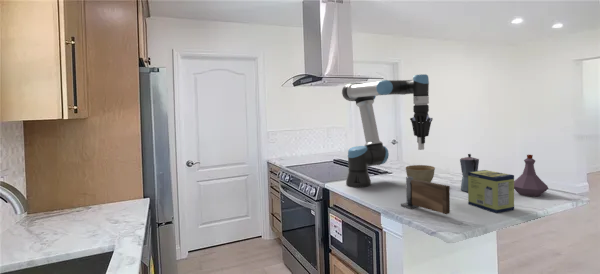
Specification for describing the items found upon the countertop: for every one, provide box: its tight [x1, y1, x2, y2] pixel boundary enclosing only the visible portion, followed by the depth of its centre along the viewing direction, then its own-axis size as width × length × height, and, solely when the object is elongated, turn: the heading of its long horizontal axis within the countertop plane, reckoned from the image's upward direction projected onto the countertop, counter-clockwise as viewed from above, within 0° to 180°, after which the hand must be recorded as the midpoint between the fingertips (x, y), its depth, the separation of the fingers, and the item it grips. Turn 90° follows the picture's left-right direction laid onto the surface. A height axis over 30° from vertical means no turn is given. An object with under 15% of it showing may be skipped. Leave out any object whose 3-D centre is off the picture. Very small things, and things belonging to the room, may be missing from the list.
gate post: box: [400, 176, 420, 210], centre depth 154 cm, size 6×6×14 cm
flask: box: [514, 154, 549, 198], centre depth 166 cm, size 16×16×20 cm
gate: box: [411, 179, 451, 215], centre depth 145 cm, size 3×18×12 cm, turn 30°
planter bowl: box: [405, 164, 436, 183], centre depth 194 cm, size 16×16×11 cm
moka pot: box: [459, 153, 480, 193], centre depth 176 cm, size 10×15×20 cm, turn 174°
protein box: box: [467, 169, 515, 214], centre depth 148 cm, size 10×16×16 cm
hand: (421, 149), depth 173 cm, fingers closed
